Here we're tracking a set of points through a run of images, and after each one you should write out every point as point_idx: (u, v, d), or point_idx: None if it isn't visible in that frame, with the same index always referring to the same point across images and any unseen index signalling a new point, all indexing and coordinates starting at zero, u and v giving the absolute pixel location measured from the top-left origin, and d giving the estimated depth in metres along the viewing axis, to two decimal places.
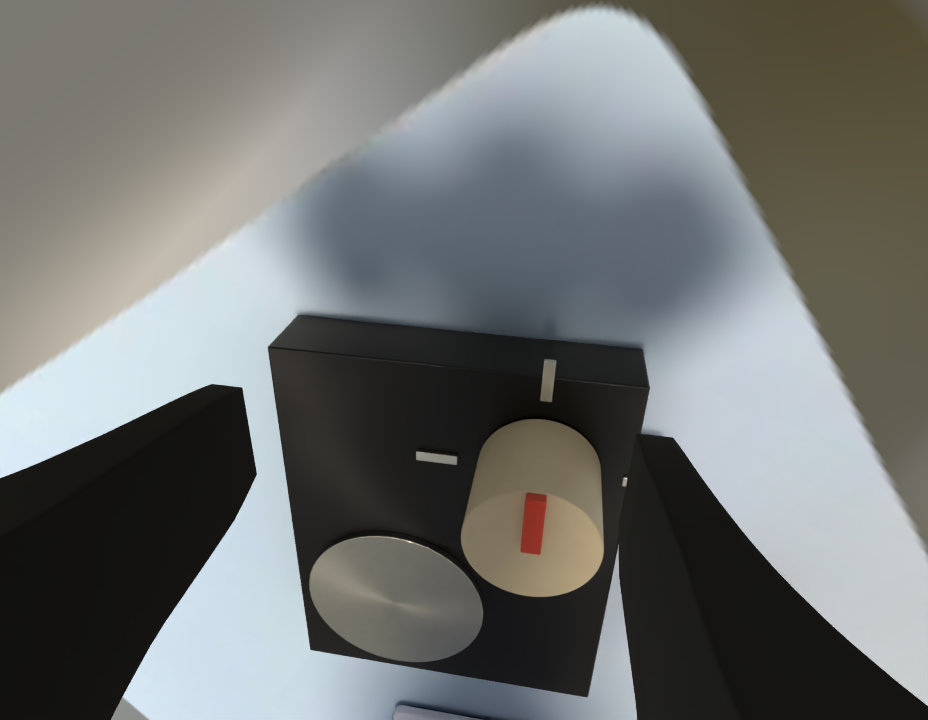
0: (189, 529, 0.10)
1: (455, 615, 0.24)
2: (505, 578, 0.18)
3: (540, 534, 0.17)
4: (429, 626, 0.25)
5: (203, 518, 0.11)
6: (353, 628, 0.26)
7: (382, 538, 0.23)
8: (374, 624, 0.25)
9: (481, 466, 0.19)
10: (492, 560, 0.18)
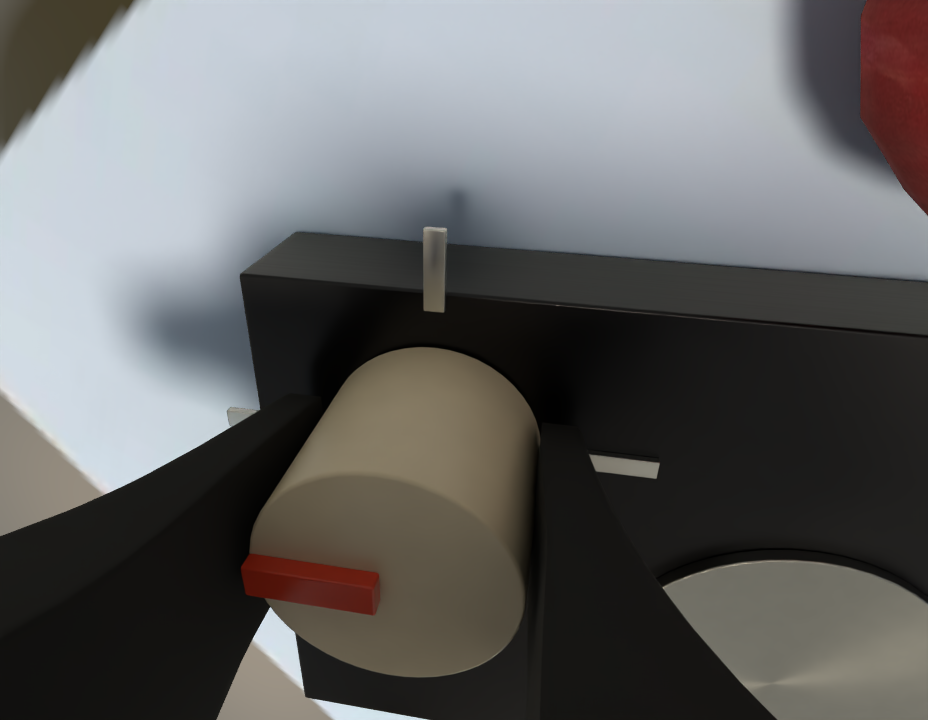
0: None
1: (813, 605, 0.12)
2: (478, 632, 0.09)
3: (319, 583, 0.09)
4: (845, 647, 0.12)
5: None
6: None
7: None
8: None
9: None
10: (433, 643, 0.09)
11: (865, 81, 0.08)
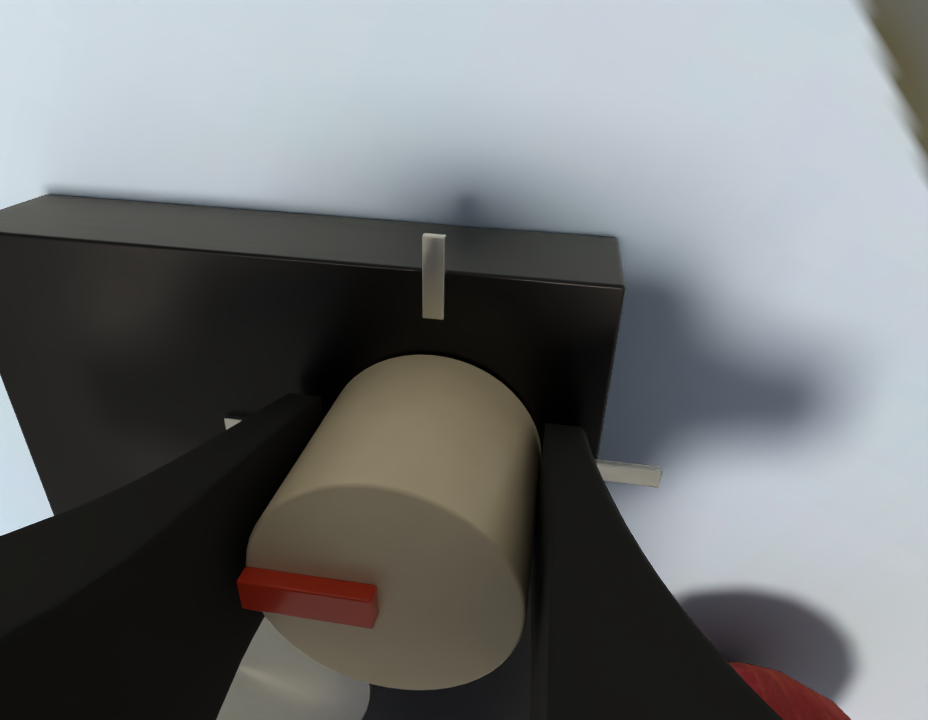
0: None
1: (327, 685, 0.15)
2: (478, 644, 0.09)
3: (316, 596, 0.08)
4: (291, 699, 0.16)
5: None
6: None
7: None
8: None
9: None
10: (433, 656, 0.09)
11: None
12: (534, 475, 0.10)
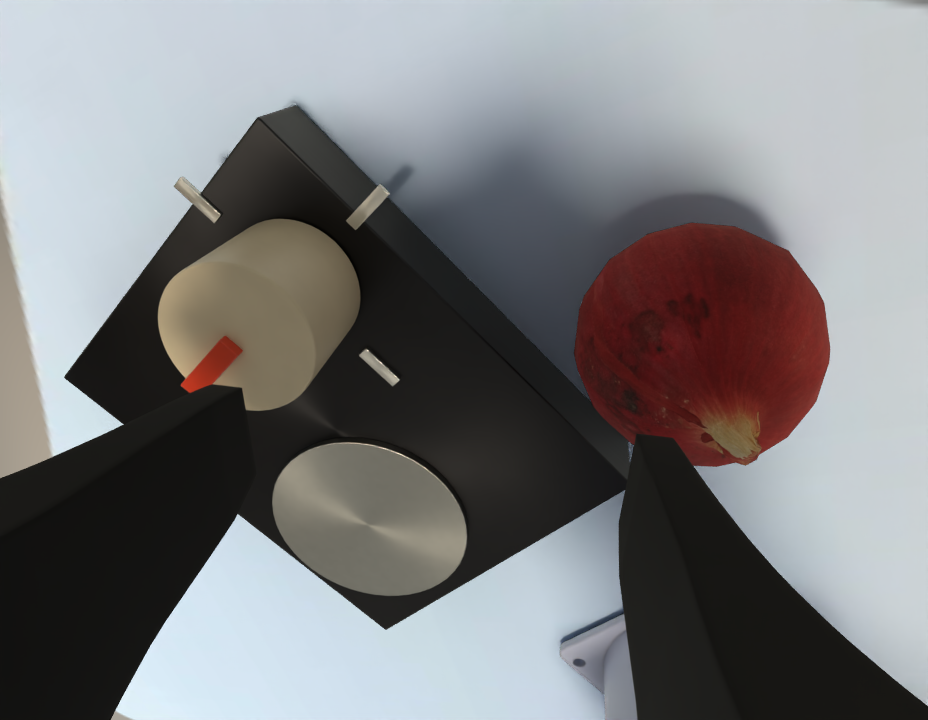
0: (189, 529, 0.10)
1: (417, 494, 0.21)
2: (288, 325, 0.15)
3: (205, 360, 0.15)
4: (415, 524, 0.21)
5: (203, 518, 0.11)
6: (376, 578, 0.23)
7: (287, 468, 0.21)
8: (382, 561, 0.23)
9: None
10: (286, 353, 0.15)
11: (592, 284, 0.16)
12: (300, 241, 0.16)
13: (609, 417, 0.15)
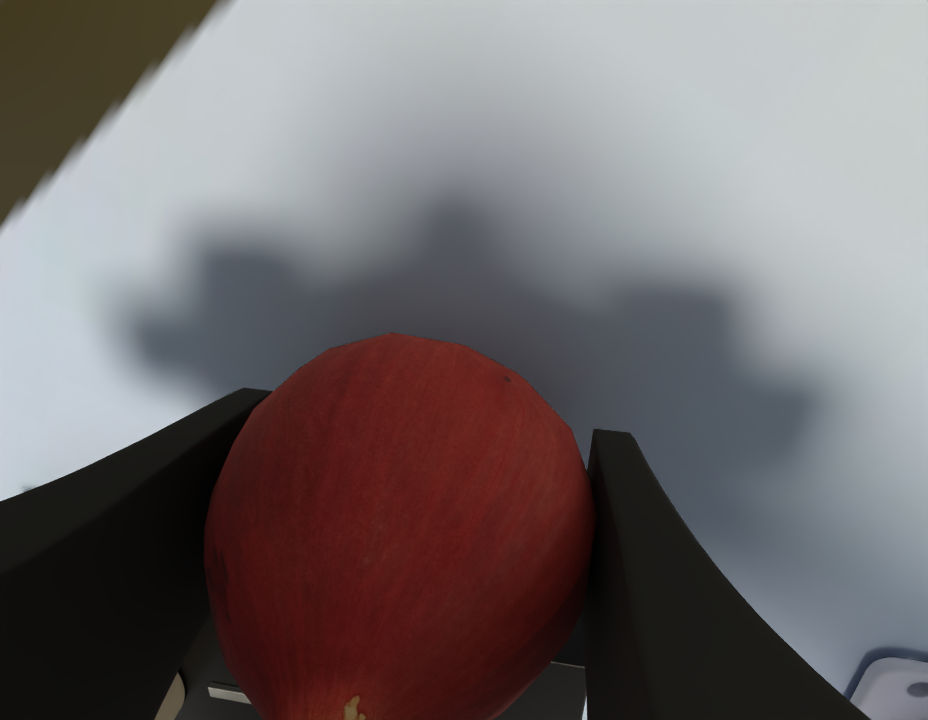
0: None
1: None
2: None
3: None
4: None
5: None
6: None
7: None
8: None
9: None
10: None
11: None
12: None
13: None
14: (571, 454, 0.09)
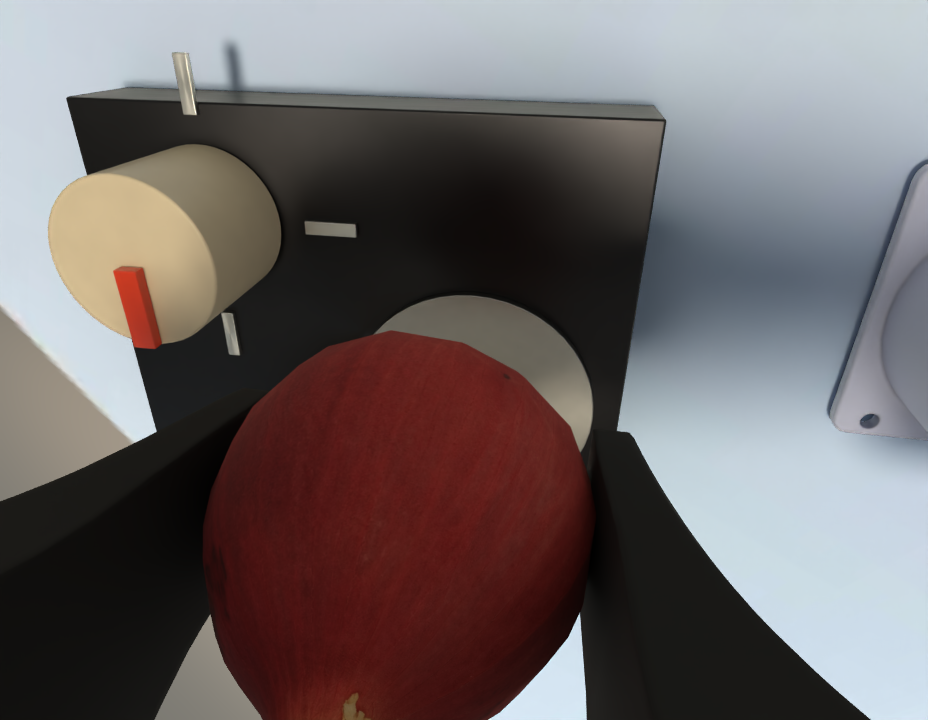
0: None
1: (477, 333, 0.17)
2: (142, 204, 0.13)
3: (123, 302, 0.14)
4: None
5: None
6: None
7: None
8: None
9: (252, 279, 0.16)
10: (167, 235, 0.14)
11: None
12: (149, 155, 0.15)
13: None
14: (570, 451, 0.09)
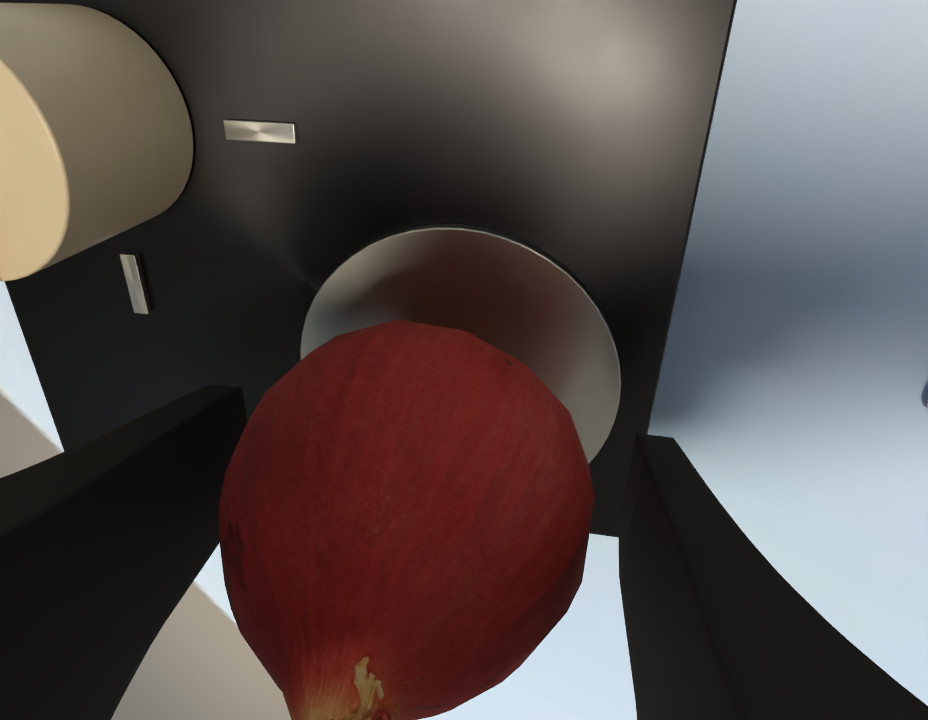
0: (189, 529, 0.10)
1: (464, 282, 0.12)
2: None
3: None
4: (505, 332, 0.13)
5: (203, 518, 0.11)
6: None
7: None
8: None
9: (145, 196, 0.11)
10: None
11: None
12: None
13: None
14: (569, 435, 0.09)
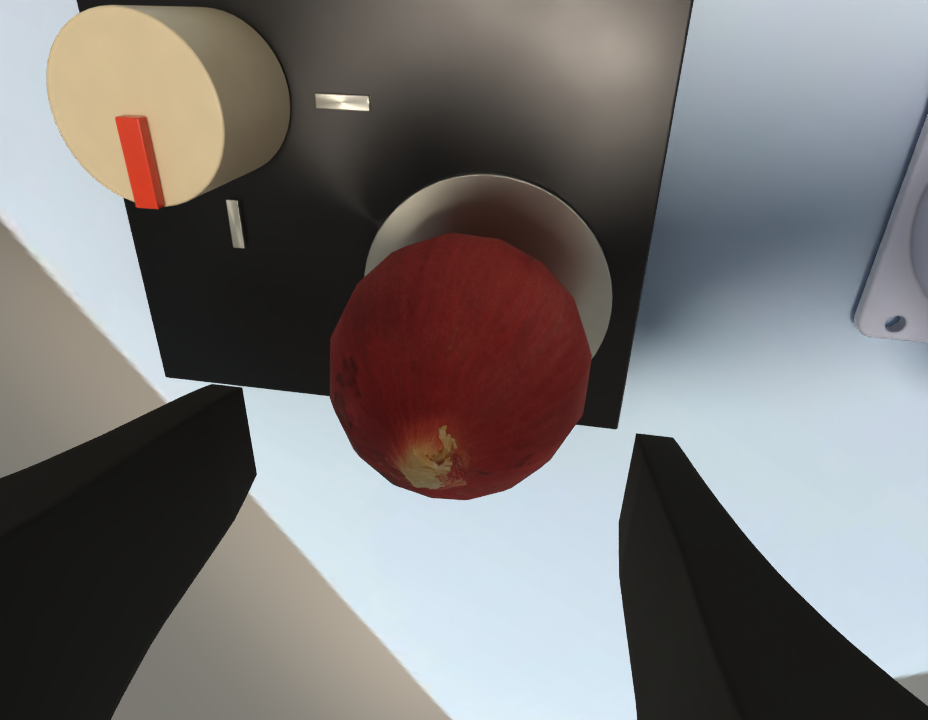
0: (189, 529, 0.10)
1: (493, 217, 0.16)
2: (147, 41, 0.13)
3: (125, 155, 0.13)
4: None
5: (203, 518, 0.11)
6: None
7: None
8: None
9: (260, 149, 0.15)
10: (173, 77, 0.13)
11: None
12: None
13: None
14: (574, 308, 0.13)
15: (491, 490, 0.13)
